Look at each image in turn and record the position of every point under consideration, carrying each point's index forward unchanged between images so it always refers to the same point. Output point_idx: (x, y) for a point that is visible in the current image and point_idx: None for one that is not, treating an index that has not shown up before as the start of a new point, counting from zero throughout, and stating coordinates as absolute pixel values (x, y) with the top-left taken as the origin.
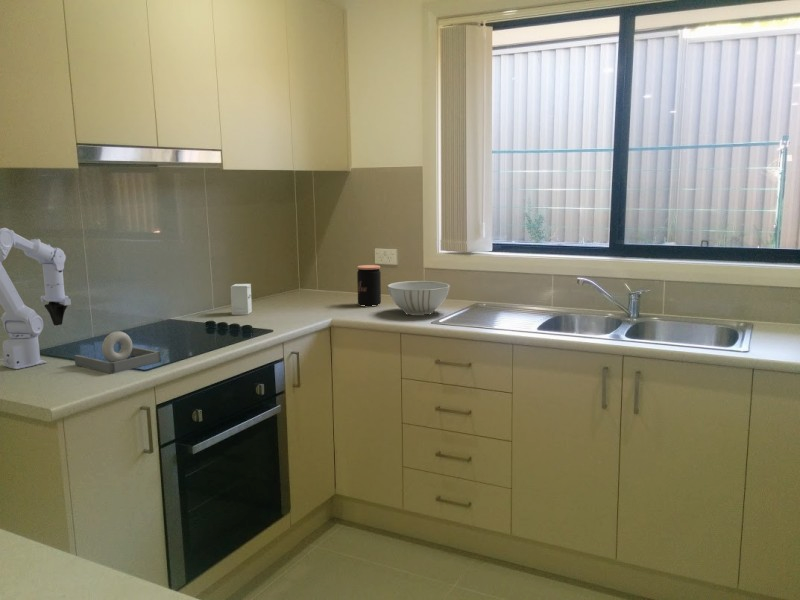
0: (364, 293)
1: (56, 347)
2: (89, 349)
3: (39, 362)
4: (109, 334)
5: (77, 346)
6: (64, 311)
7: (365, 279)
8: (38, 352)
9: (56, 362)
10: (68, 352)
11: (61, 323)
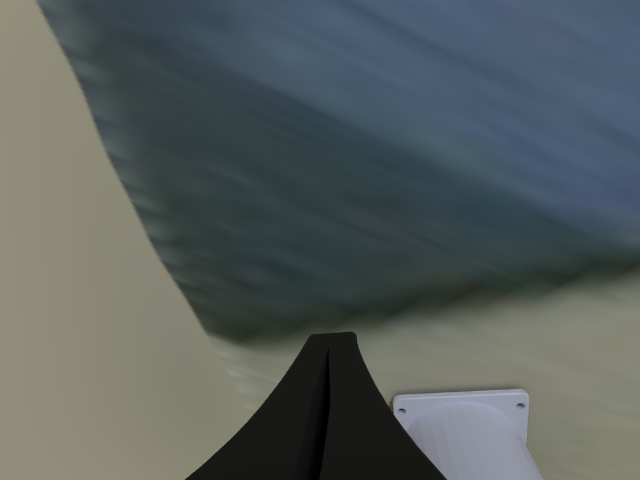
0: None
1: (180, 204)
2: (412, 82)
3: (518, 420)
4: None
5: (248, 98)
6: (416, 446)
7: None
8: (532, 463)
9: (554, 354)
10: (378, 216)
11: (356, 343)
